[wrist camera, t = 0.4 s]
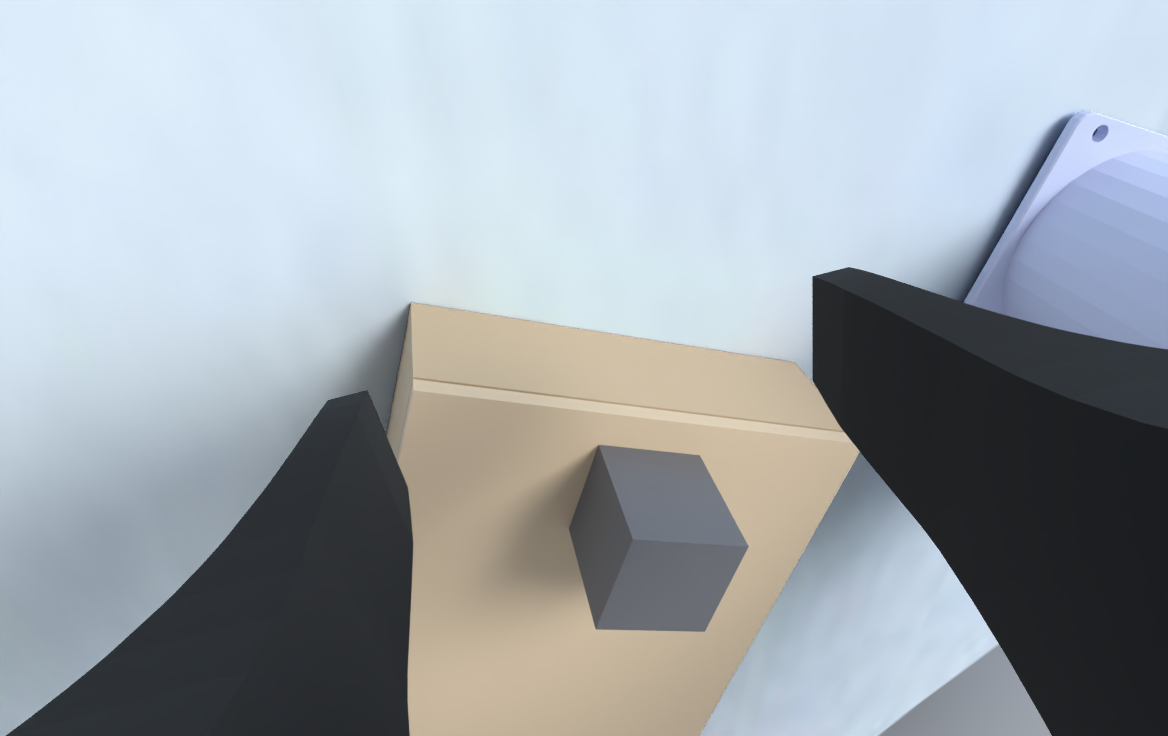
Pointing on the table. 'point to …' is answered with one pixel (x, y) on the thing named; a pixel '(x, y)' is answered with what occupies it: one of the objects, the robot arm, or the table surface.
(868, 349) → the robot arm
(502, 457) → the sliding lid
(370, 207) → the table surface
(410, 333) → the carton
